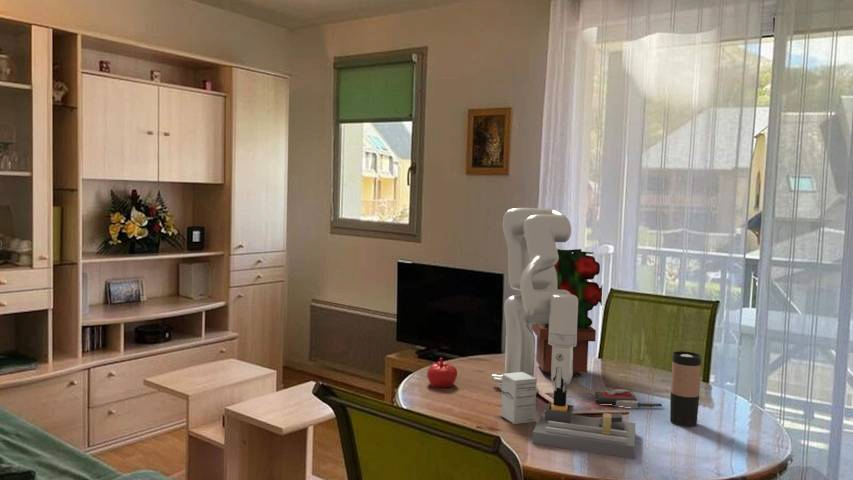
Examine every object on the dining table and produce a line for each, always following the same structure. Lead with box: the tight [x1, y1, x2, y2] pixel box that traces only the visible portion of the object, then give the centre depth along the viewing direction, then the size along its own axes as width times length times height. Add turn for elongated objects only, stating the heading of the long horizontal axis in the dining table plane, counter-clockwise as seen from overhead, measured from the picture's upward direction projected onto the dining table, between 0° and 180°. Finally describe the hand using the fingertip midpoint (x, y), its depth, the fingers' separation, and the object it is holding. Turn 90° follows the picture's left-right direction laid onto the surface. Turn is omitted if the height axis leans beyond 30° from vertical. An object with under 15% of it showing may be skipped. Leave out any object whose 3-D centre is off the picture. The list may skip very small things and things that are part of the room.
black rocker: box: [601, 413, 623, 422], centre depth 172 cm, size 5×4×1 cm
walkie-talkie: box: [594, 388, 663, 409], centre depth 201 cm, size 9×4×20 cm
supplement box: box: [500, 372, 538, 425], centre depth 184 cm, size 7×7×13 cm
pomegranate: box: [426, 357, 458, 388], centre depth 215 cm, size 10×10×9 cm
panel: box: [531, 402, 636, 459], centre depth 170 cm, size 25×18×6 cm
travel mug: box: [669, 350, 702, 428], centre depth 184 cm, size 8×8×20 cm
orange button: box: [551, 402, 569, 412], centre depth 177 cm, size 4×4×3 cm
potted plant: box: [531, 248, 603, 377], centre depth 236 cm, size 22×22×45 cm
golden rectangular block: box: [602, 412, 613, 435], centre depth 164 cm, size 2×3×5 cm, turn 161°
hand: (559, 405), depth 177 cm, fingers closed
